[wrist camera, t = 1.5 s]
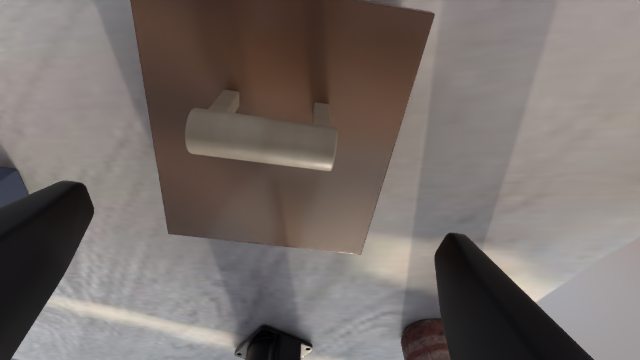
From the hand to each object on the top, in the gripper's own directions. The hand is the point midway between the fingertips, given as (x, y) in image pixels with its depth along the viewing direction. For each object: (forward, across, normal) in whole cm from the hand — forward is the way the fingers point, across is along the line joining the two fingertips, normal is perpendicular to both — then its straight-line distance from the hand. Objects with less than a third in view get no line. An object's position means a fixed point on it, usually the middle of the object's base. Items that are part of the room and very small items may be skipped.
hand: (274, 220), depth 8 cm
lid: (+8, +1, +3) cm, 9 cm away
